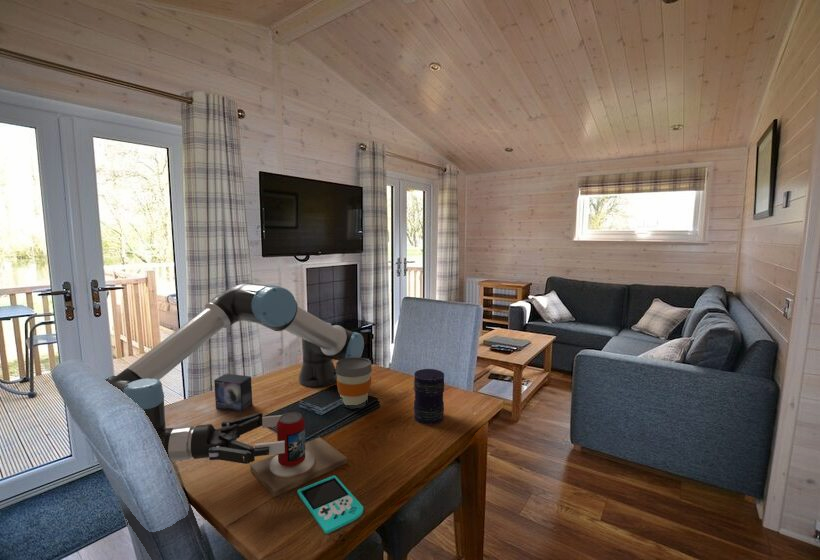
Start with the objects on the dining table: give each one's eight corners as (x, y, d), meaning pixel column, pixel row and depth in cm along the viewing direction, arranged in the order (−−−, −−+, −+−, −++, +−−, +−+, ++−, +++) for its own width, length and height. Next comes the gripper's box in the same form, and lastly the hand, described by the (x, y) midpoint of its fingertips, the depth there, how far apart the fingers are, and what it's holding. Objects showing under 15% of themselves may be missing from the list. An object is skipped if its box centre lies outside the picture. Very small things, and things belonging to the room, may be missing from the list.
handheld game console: (325, 537, 81) (324, 531, 80) (295, 494, 93) (295, 489, 93) (367, 516, 86) (367, 510, 86) (334, 478, 99) (334, 473, 99)
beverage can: (297, 470, 98) (296, 424, 96) (272, 467, 99) (271, 421, 97) (310, 455, 104) (309, 412, 103) (286, 452, 106) (285, 409, 104)
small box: (214, 409, 135) (212, 379, 134) (227, 401, 142) (225, 372, 140) (241, 412, 133) (239, 382, 131) (253, 404, 139) (252, 375, 138)
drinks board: (319, 441, 115) (319, 434, 115) (347, 462, 105) (347, 454, 105) (250, 470, 101) (250, 461, 101) (274, 497, 91) (274, 488, 91)
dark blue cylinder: (408, 414, 132) (408, 371, 130) (433, 408, 137) (434, 367, 135) (423, 427, 124) (423, 382, 122) (449, 421, 128) (450, 376, 126)
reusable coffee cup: (338, 396, 146) (338, 357, 144) (372, 396, 147) (372, 356, 145) (333, 412, 134) (332, 369, 132) (371, 411, 134) (370, 369, 132)
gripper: (208, 431, 107) (289, 422, 112) (177, 490, 83) (283, 476, 88) (206, 404, 106) (289, 397, 111) (175, 456, 82) (282, 444, 87)
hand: (286, 432), depth 100 cm, fingers open, 13 cm apart
